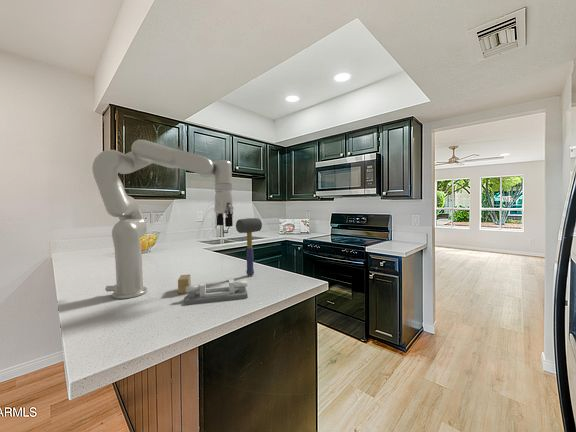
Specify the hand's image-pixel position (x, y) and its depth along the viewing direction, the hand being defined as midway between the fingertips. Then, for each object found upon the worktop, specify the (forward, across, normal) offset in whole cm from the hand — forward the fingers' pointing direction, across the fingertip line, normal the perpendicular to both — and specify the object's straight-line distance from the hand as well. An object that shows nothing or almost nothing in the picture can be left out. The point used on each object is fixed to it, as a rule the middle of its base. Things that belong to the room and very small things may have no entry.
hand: (224, 225), depth 116 cm
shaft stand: (+28, +12, -9) cm, 31 cm away
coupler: (+28, -5, -17) cm, 33 cm away
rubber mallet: (+28, -7, +16) cm, 33 cm away
